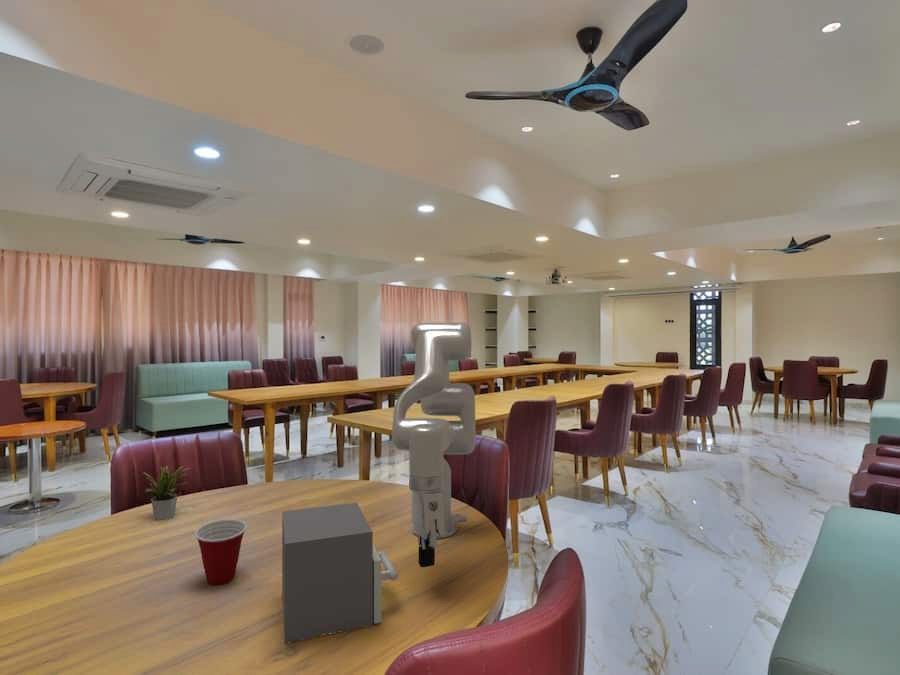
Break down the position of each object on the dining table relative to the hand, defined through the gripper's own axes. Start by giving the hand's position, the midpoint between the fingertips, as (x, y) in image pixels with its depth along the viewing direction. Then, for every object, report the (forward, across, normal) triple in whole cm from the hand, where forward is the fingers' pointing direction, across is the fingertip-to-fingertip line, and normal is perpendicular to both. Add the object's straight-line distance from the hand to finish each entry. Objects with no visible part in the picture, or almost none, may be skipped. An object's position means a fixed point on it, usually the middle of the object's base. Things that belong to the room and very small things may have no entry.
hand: (426, 564), depth 106 cm
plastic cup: (+6, +21, +43) cm, 48 cm away
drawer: (+5, 0, +18) cm, 19 cm away
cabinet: (+6, 0, +22) cm, 22 cm away
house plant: (+6, +69, +62) cm, 93 cm away
